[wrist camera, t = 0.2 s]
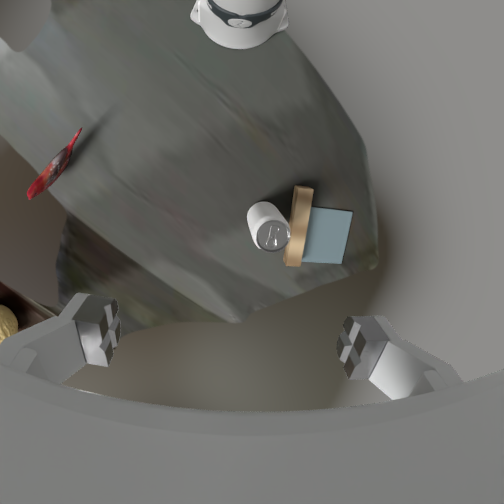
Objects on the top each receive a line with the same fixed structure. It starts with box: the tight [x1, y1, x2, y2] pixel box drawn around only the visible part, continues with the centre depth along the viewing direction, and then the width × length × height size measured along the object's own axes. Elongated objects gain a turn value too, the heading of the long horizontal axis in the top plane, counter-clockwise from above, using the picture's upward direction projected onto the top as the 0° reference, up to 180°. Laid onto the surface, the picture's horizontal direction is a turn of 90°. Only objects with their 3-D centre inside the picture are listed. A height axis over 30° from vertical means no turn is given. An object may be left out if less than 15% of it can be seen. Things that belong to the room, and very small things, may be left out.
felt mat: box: [301, 207, 353, 264], centre depth 61 cm, size 12×10×1 cm
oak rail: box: [283, 185, 314, 266], centre depth 58 cm, size 16×3×3 cm, turn 174°
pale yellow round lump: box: [0, 305, 18, 344], centre depth 56 cm, size 12×12×11 cm
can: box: [247, 202, 290, 253], centre depth 52 cm, size 6×6×12 cm
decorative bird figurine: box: [27, 128, 82, 200], centre depth 44 cm, size 3×18×10 cm, turn 131°
